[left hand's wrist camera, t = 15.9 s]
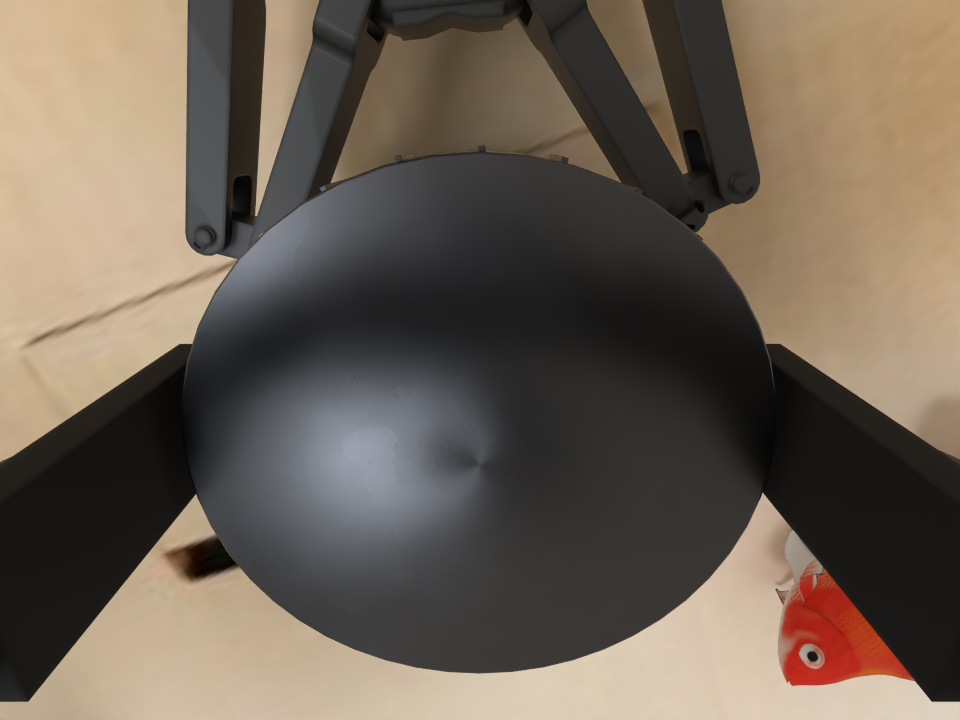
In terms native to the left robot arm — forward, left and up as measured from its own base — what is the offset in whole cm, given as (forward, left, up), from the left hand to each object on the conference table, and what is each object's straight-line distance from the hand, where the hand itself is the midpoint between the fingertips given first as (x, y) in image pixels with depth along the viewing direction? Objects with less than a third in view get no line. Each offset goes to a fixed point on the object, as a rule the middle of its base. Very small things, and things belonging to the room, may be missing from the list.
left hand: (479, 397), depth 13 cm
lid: (0, 0, +3) cm, 3 cm away
